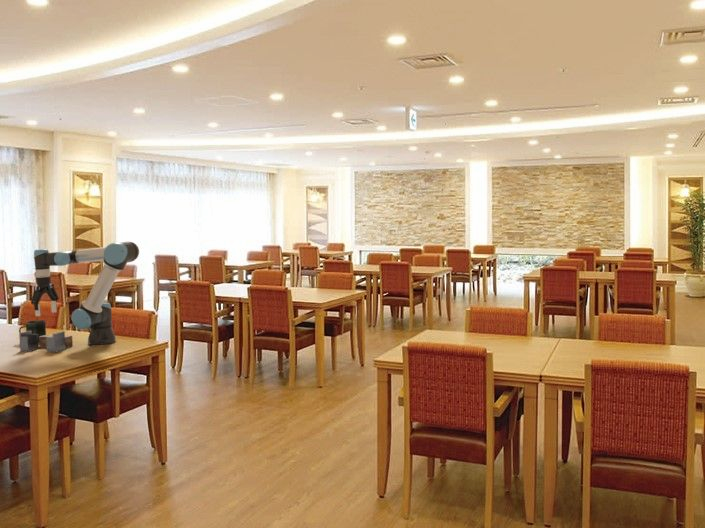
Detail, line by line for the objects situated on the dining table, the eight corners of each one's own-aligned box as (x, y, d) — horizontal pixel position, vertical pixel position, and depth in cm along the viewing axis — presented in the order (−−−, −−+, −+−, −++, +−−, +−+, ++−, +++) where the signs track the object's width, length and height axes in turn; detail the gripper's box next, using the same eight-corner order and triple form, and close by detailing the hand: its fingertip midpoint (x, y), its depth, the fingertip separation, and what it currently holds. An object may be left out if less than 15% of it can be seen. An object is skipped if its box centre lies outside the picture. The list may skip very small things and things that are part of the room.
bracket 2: (65, 349, 382) (64, 331, 381) (55, 352, 374) (54, 334, 373) (57, 348, 383) (56, 331, 382) (47, 352, 375) (46, 333, 374)
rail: (72, 346, 391) (72, 335, 391) (66, 348, 386) (66, 337, 386) (45, 345, 396) (45, 335, 395) (39, 347, 391) (38, 336, 390)
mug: (47, 342, 403) (46, 322, 402) (19, 345, 397) (18, 324, 396) (47, 339, 413) (46, 319, 412) (20, 342, 407) (18, 321, 406)
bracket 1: (38, 348, 386) (37, 330, 385) (28, 351, 378) (27, 333, 377) (31, 348, 387) (30, 330, 386) (20, 351, 379) (19, 333, 378)
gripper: (52, 274, 402) (55, 310, 404) (21, 279, 378) (25, 317, 380) (63, 274, 401) (66, 310, 402) (33, 278, 376) (36, 317, 378)
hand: (46, 314), depth 391 cm, fingers open, 13 cm apart
